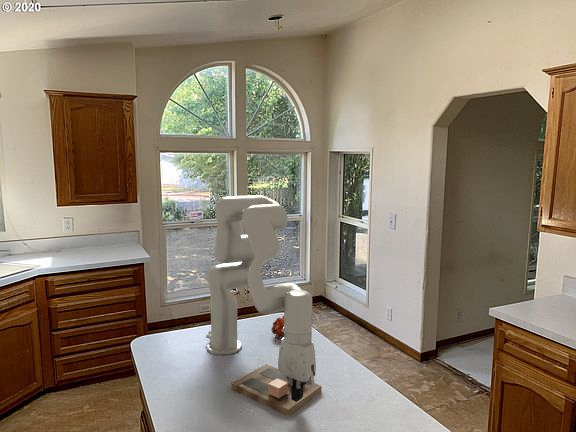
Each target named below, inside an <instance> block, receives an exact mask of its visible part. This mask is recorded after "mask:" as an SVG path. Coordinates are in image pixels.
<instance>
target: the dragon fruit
mask: <svg viewBox="0 0 576 432" xmlns="http://www.w3.org/2000/svg"><path fill="white" fill-rule="evenodd" d="M283 327H284V315H282V317H277V318H276V320H275V321H273V322H272V326H271V329H270V330H271V332H272V334H273V335H274V338H275V339H276V338H278V339H279V338H283V337H284V332H282V328H283Z"/></svg>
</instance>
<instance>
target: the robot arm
mask: <svg viewBox="0 0 576 432" xmlns="http://www.w3.org/2000/svg"><path fill="white" fill-rule="evenodd" d="M214 208H215V209H214V211H215V212H214V213H215V219H216V236H215V245H214V258H215V260H216V261H217V262H218V264H216V265H213V266H211V267H210V268H209V269H208V271H207V282H208V288H209V295H210V330H209V331H208V333H206V334H205V338H207V339H209V342H208V343H207V345H206V349H207V351H208V352H209V353H211V354H214V355H218V356H225V355H232V354H235V353H238V352H239V351H240V350H241V349H242V342H241V341H240V340H239V339H238V301H237V300H238V299H237V298H236V296H235V295H234V294H233V293H232V292H231V291H232V290H235V289H240V288H246V287H248V290H249V293H250V297H251V300H252V303H253V305H254V307H255V309H256V310H257V312H258V313H260V314H261V315H270V314H274V313H279V312H283V313H284V314H283V316H284V327H283V328H282V332H284V336H282V337H281V339H280V346H279V350H278V359H277V360H278V362H277V369H278V370H279V372H280V373H281V374H283V375H284V376H286V377H287V379H288V380H289V385H290V386H291V400H293V401H295V402H297V401H299V400H300V399H301V398H302V397H303V386H304V385H305V384H306V385H312V384H314V383H315V376H316V374H317V373H316V371H317V366H316V365H317V363H316V351H315V346H314V345H315V344H314V342H313V341H312V340H313V339H312V337H313V336H312V334H313V333H312V332H313V331H312V330H313V328H312V327H313V325H312V324H313V321H312V320H313V295H312V294H311V293H310V292H309V291H307V290H304V289H302V288H301V287H300V286H299V285H298V284H297V283H294V282H286V283H279V284H278V283H277V284H273V285H268V286H267V285H266V286H265V284H264V281H263V279H262V269H263V265H265V264H266V263H268V262H269V261H272V260H273V259H274V258H276V257H277V256H278V255H279V254H280V253H281V251H282V246H281V244H280V242H279V239H278V238H279V237H278V236H277V233H276V231H282V230H284V229H285V228H286V227H287V226H288V222H289V221H288V214H287V210H286V209H285V208H284V206H282V204H280V203H278V202H277V201H275V200H273V199H271V198H269V197H267V196H265V195H236V196H235V195H234V196H231V195H230V196H223V197H221V198H219V199H218V200H217V202H216V204H215V207H214ZM241 222H242V223H241ZM242 224H243V226H242ZM243 227H244V230H245V234H242V230H243ZM219 263H220V264H219Z"/></svg>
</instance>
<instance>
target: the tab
mask: <svg viewBox="0 0 576 432" xmlns="http://www.w3.org/2000/svg"><path fill="white" fill-rule="evenodd" d="M286 393H288V383H287V382H285V381H282V380H280V379H278V378H277V379H275V380H274V381H272V382H270V383H269V384H268V394H270V395H272V396H275V397H277V398H280V397H282V396H283V395H285V394H286Z"/></svg>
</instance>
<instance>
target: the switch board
mask: <svg viewBox="0 0 576 432" xmlns="http://www.w3.org/2000/svg"><path fill="white" fill-rule="evenodd" d="M277 378H278V379H280V380H282V381H285V382H286V376H284V375H283V374H281V373H280V372H279V370H278V367H277V368H276V367H274V366H272V365H270V364H264V365H262V366H260V367H259V368H257V369H255V370H253V371H252V372H249V373H247V374H245V375H244V376H242V377H240V378H238V379H237V380H235V381H233V382H231V384H230V385H231V391H233V392H235V393H238V394H240V395H242V396H244V397H246V398H248V399H250V400H253V401H255V402H257V403H259V404H261V405H263V406H265V407H268V408H269V409H271V410H274V411H276V412H278V413H280V414H282V415H284V416H286V417H290V416H291V415H293V414H294V413H296V411H298V410H300V409H301V408H302V407H303V406H305V405H306V404H308V403H309V402H310V401H311V400H313V399H315V397H317V396H318V395H320V394H321V393H322V385H321V384H318V383H315V382H314V384H312V385H306V384H305V385H304V386H303V397H302V398H301V399H300V400H299V401H297V402H295V401H293V400H291V386H290V385H289V384H288V393H286V394H285V395H283V396H282V397H280V398H277V397H275V396H272V395H270V394H268V384H269V383H270V382H272V381H274V380H275V379H277Z"/></svg>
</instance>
